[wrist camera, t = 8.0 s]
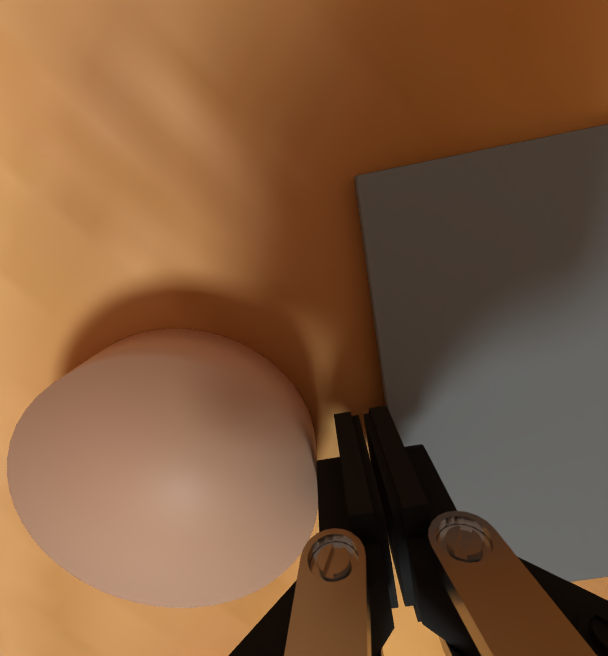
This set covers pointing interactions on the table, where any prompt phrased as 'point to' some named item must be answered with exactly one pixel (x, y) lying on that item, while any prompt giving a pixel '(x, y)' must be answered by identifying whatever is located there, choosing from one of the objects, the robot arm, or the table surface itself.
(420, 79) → the table surface
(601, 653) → the robot arm
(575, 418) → the slate mat
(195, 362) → the pinkish beige domed disc
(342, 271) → the table surface
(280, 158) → the table surface
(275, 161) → the table surface
